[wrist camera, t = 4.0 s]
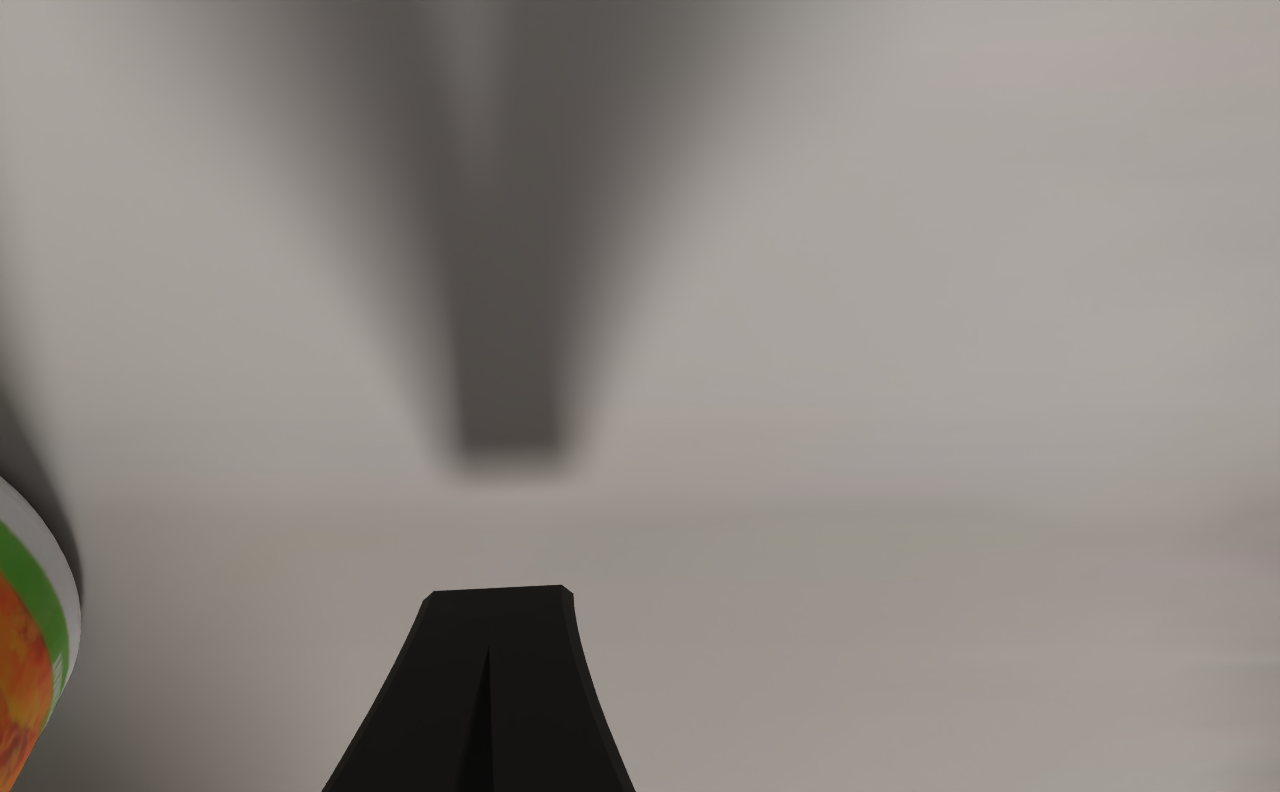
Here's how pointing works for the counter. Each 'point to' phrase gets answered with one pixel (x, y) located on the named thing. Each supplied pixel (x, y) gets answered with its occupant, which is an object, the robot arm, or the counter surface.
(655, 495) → the counter surface
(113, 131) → the counter surface
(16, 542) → the supplement bottle
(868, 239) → the counter surface
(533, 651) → the robot arm
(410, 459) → the counter surface
